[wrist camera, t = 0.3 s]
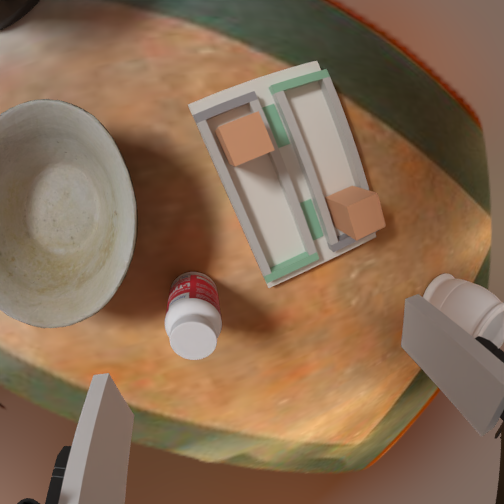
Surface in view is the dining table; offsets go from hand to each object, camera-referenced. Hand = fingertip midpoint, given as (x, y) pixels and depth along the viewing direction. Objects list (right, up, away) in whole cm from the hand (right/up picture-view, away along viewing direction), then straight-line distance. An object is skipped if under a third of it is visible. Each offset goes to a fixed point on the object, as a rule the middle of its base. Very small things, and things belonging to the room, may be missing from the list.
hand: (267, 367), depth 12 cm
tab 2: (+11, +10, +25) cm, 29 cm away
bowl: (-24, +11, +21) cm, 34 cm away
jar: (+32, -3, +35) cm, 48 cm away
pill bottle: (-8, 0, +27) cm, 29 cm away
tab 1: (-2, +17, +21) cm, 27 cm away
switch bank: (+4, +14, +24) cm, 28 cm away
